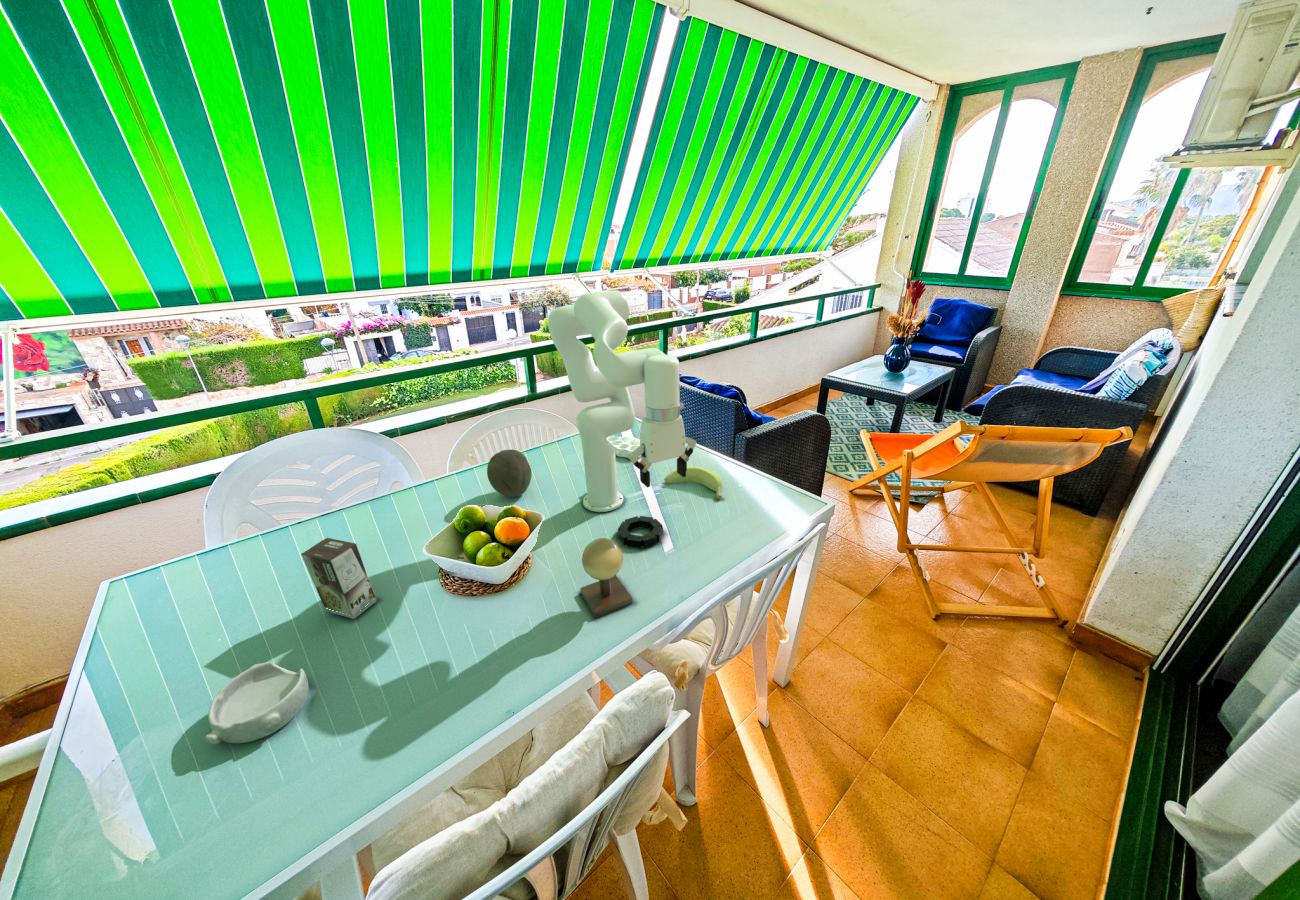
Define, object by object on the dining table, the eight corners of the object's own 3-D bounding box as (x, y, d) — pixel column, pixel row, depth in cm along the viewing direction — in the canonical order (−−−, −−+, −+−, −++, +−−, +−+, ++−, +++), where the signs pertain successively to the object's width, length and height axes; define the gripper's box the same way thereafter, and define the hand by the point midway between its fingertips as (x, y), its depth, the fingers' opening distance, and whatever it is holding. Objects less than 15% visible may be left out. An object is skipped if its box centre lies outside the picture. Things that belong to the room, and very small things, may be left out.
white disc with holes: (655, 451, 178) (626, 463, 169) (625, 438, 190) (597, 449, 181) (655, 443, 176) (626, 454, 167) (625, 431, 188) (596, 441, 180)
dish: (253, 679, 88) (243, 660, 86) (328, 672, 88) (320, 654, 86) (190, 756, 74) (176, 736, 72) (280, 747, 75) (268, 727, 73)
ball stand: (580, 592, 107) (574, 537, 100) (616, 579, 110) (611, 525, 104) (595, 617, 99) (589, 560, 93) (632, 603, 103) (629, 546, 97)
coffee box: (378, 600, 106) (357, 543, 100) (353, 620, 101) (330, 561, 94) (349, 592, 109) (327, 536, 103) (324, 611, 104) (299, 553, 97)
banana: (693, 454, 157) (733, 482, 143) (695, 466, 160) (734, 495, 146) (661, 473, 152) (700, 504, 138) (664, 485, 155) (701, 517, 141)
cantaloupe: (544, 489, 152) (538, 448, 146) (511, 509, 142) (503, 465, 135) (514, 479, 159) (507, 440, 153) (481, 497, 149) (472, 456, 143)
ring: (612, 530, 129) (612, 523, 128) (649, 519, 134) (649, 512, 133) (630, 553, 120) (630, 545, 119) (669, 539, 125) (669, 532, 124)
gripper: (687, 400, 108) (686, 465, 115) (620, 414, 101) (624, 482, 108) (704, 409, 102) (703, 477, 109) (634, 424, 95) (638, 496, 102)
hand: (663, 479), depth 109 cm, fingers open, 9 cm apart
